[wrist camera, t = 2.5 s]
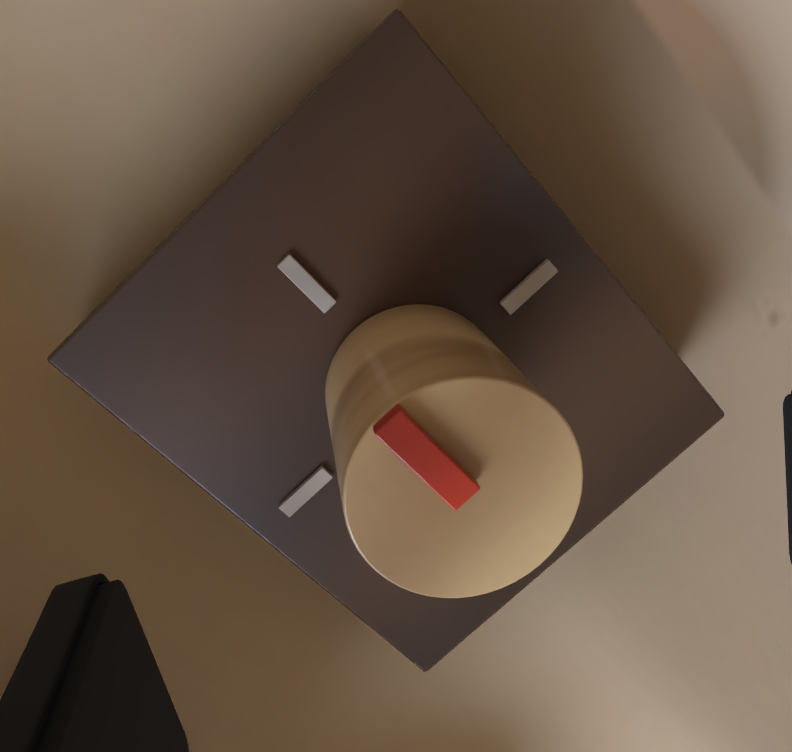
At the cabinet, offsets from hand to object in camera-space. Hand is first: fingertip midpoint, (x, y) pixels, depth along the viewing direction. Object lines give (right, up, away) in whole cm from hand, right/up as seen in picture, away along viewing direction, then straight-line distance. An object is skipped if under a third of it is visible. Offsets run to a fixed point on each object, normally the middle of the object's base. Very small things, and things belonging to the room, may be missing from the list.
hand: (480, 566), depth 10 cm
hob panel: (-1, +3, +10) cm, 10 cm away
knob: (-1, +2, +7) cm, 7 cm away
